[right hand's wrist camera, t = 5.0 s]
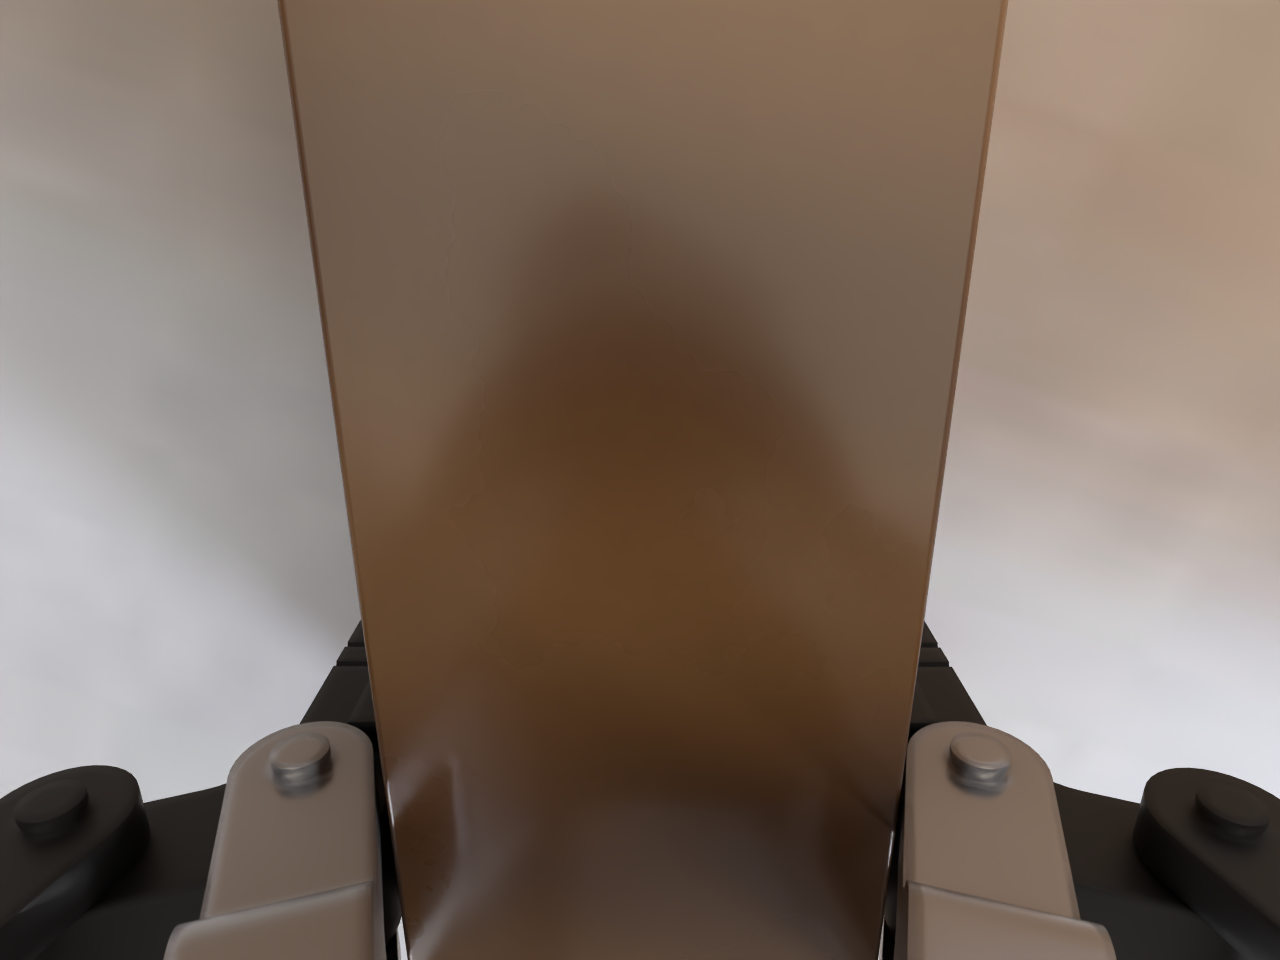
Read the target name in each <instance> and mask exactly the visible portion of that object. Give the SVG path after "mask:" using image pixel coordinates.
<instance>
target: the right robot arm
mask: <svg viewBox="0 0 1280 960" xmlns="http://www.w3.org/2000/svg"><path fill="white" fill-rule="evenodd" d="M937 644H938V643H937V641H936V640H935V638H934V636H933V635H932V633H931V631H930V630H929V628H928V626H927V625H926V623H925V621H924V624H923V632H922V639H921V647H920V654H919V661H918V669H917V676H916V683H915V691H914V698H913V705H912V713H911V720H910V728H909V735H908V742H907V750H906V757H905V764H904V772H903V779H902V786H901V794H900V801H899V809H898V816H897V823H896V831H895V838H894V845H893V853H892V860H891V867H890V875H889V882H888V890H887V897H886V904H885V912H884V921H883V928H882V935H881V942H880V953H879V960H1280V799H1278V798H1277V797H1275V796H1274V795H1272V794H1270V793H1269V792H1267V791H1265V790H1263V789H1261V788H1259V787H1257V786H1255V785H1253V784H1251V783H1248V782H1246V781H1244V780H1241V779H1238V778H1235V777H1233V776H1230V775H1226V774H1223V773H1219V772H1215V771H1210V770H1205V769H1196V768H1174V769H1168V770H1164V771H1161V772H1158V773H1157V774H1155V775H1154V776H1152V777H1151V778H1150V779H1149V780H1148V781H1147V783H1146V786H1145V788H1144V792H1143V796H1142V799H1141V803H1140V804H1139V803H1135V802H1130V801H1125V800H1121V799H1116V798H1112V797H1107V796H1102V795H1098V794H1093V793H1089V792H1084V791H1080V790H1076V789H1072V788H1069V787H1066V786H1063V785H1060V784H1057V783H1054V782H1053V779H1052V775H1051V772H1050V770H1049V768H1048V766H1047V765H1046V763H1045V761H1044V760H1043V759H1042V758H1041V757H1040V756H1039V754H1038V753H1036V752H1035V751H1034V750H1033V749H1032V748H1031V747H1030V746H1028V745H1027V744H1025V743H1024V742H1022V741H1021V740H1019V739H1017V738H1015V737H1014V736H1012V735H1010V734H1008V733H1005V732H1003V731H1001V730H998V729H995V728H992V727H989V726H987V725H986V723H985V722H984V720H983V718H982V717H981V715H980V713H979V712H978V710H977V708H976V707H975V705H974V703H973V702H972V700H971V698H970V696H969V695H968V693H967V691H966V690H965V688H964V686H963V685H962V683H961V681H960V680H959V678H958V676H957V675H956V673H955V671H954V670H953V668H952V667H949V661H948V660H947V658H946V656H945V655H944V653H943V651H942V650H941V648H938V645H937ZM401 916H402V914H401V906H400V899H399V892H398V884H397V877H396V870H395V862H394V855H393V847H392V840H391V833H390V825H389V818H388V811H387V803H386V796H385V789H384V781H383V774H382V766H381V759H380V752H379V744H378V737H377V730H376V722H375V715H374V708H373V700H372V693H371V686H370V678H369V671H368V663H367V656H366V649H365V641H364V634H363V627H362V619H361V621H360V622H359V624H358V626H357V627H356V629H355V631H354V633H353V634H352V636H351V638H350V639H349V641H348V647H345V648H344V650H343V651H342V653H341V655H340V656H339V658H338V660H337V665H336V666H334V667H333V668H332V670H331V672H330V673H329V675H328V677H327V678H326V680H325V682H324V683H323V685H322V687H321V689H320V690H319V692H318V694H317V695H316V697H315V699H314V700H313V702H312V704H311V706H310V707H309V709H308V711H307V712H306V714H305V716H304V717H303V719H302V721H301V723H300V724H299V725H294V726H291V727H288V728H285V729H282V730H279V731H277V732H275V733H272V734H270V735H268V736H266V737H265V738H263V739H261V740H259V741H258V742H256V743H255V744H253V745H252V746H250V747H249V748H248V749H247V750H246V751H245V752H244V753H242V754H241V756H240V757H239V758H238V759H237V760H236V761H235V763H234V765H233V766H232V768H231V770H230V772H229V775H228V779H227V783H226V784H223V785H220V786H217V787H213V788H210V789H206V790H202V791H197V792H192V793H188V794H183V795H179V796H174V797H169V798H165V799H160V800H156V801H151V802H146V803H143V800H142V796H141V792H140V789H139V785H138V783H137V780H136V779H135V777H134V776H133V775H132V774H130V773H129V772H127V771H126V770H123V769H120V768H117V767H112V766H103V765H93V766H82V767H76V768H71V769H66V770H63V771H59V772H55V773H52V774H49V775H47V776H44V777H41V778H38V779H36V780H34V781H32V782H29V783H27V784H25V785H23V786H21V787H19V788H18V789H16V790H14V791H12V792H10V793H9V794H7V795H6V796H4V797H3V798H1V799H0V960H401V953H400V942H399V935H398V925H399V923H400V919H401Z"/></svg>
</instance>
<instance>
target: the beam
mask: <svg viewBox="0 0 1280 960" xmlns="http://www.w3.org/2000/svg"><path fill="white" fill-rule="evenodd" d="M277 1H278V8H279V16H280V23H281V30H282V38H283V45H284V53H285V60H286V67H287V75H288V82H289V89H290V97H291V104H292V111H293V119H294V126H295V134H296V141H297V148H298V156H299V163H300V170H301V178H302V185H303V192H304V200H305V207H306V214H307V222H308V229H309V237H310V244H311V251H312V259H313V266H314V273H315V281H316V288H317V295H318V303H319V310H320V318H321V325H322V332H323V340H324V347H325V354H326V362H327V369H328V376H329V384H330V391H331V398H332V406H333V413H334V421H335V428H336V435H337V443H338V450H339V457H340V465H341V472H342V479H343V487H344V494H345V502H346V509H347V516H348V524H349V531H350V538H351V546H352V553H353V560H354V568H355V575H356V582H357V590H358V597H359V605H360V612H361V619H362V627H363V634H364V641H365V649H366V656H367V663H368V671H369V678H370V686H371V693H372V700H373V708H374V715H375V722H376V730H377V737H378V744H379V752H380V759H381V766H382V774H383V781H384V789H385V796H386V803H387V811H388V818H389V825H390V833H391V840H392V847H393V855H394V862H395V870H396V877H397V884H398V892H399V899H400V906H401V914H402V921H403V928H404V936H405V943H406V950H407V958H408V960H878V956H879V948H880V941H881V934H882V926H883V919H884V912H885V904H886V897H887V890H888V882H889V875H890V867H891V860H892V853H893V845H894V838H895V831H896V823H897V816H898V809H899V801H900V794H901V786H902V779H903V772H904V764H905V757H906V750H907V742H908V735H909V728H910V720H911V713H912V705H913V698H914V691H915V683H916V676H917V669H918V661H919V654H920V647H921V639H922V632H923V624H924V617H925V610H926V602H927V595H928V588H929V580H930V573H931V566H932V558H933V551H934V544H935V536H936V529H937V521H938V514H939V507H940V499H941V492H942V485H943V477H944V470H945V463H946V455H947V448H948V440H949V433H950V426H951V418H952V411H953V404H954V396H955V389H956V382H957V374H958V367H959V359H960V352H961V345H962V337H963V330H964V323H965V315H966V308H967V301H968V293H969V286H970V278H971V271H972V264H973V256H974V249H975V242H976V234H977V227H978V220H979V212H980V205H981V198H982V190H983V183H984V175H985V168H986V161H987V153H988V146H989V139H990V131H991V124H992V117H993V109H994V102H995V94H996V87H997V80H998V72H999V65H1000V58H1001V50H1002V43H1003V36H1004V28H1005V21H1006V13H1007V6H1008V0H277Z"/></svg>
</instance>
